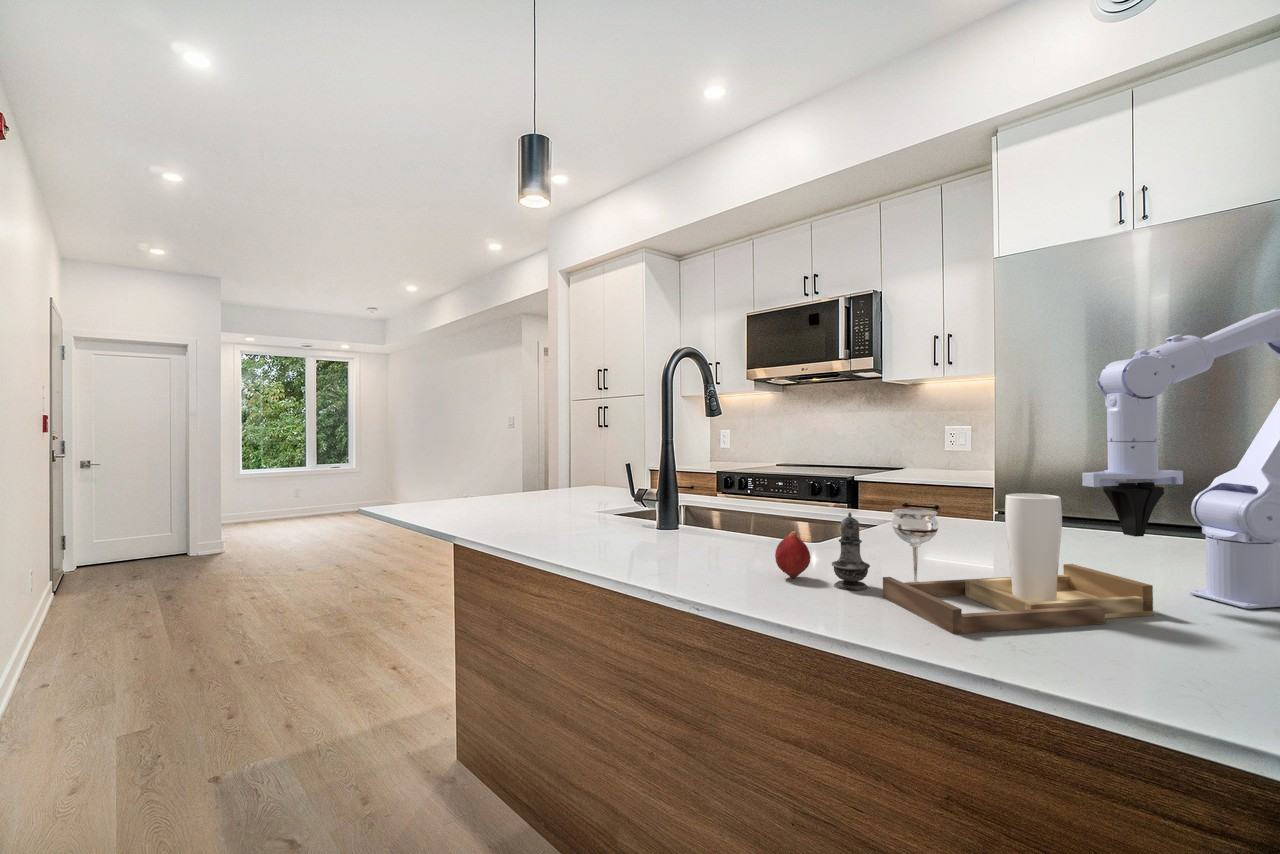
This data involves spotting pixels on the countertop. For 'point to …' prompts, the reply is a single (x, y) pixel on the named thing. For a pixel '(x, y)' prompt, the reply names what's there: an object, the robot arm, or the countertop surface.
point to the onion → (792, 555)
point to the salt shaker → (850, 558)
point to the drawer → (1072, 593)
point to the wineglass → (915, 529)
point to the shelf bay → (951, 618)
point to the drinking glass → (1034, 544)
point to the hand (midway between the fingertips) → (1133, 535)
